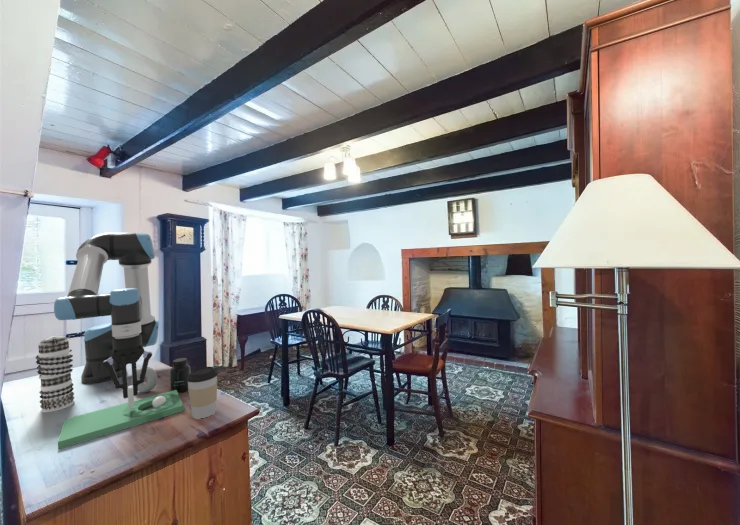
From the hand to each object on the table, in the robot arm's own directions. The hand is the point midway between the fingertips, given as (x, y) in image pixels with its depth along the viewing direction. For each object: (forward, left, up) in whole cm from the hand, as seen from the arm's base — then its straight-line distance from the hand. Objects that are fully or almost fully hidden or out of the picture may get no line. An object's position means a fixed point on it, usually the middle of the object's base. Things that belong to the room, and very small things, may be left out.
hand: (131, 406), depth 101 cm
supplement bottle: (-12, +16, -4) cm, 20 cm away
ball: (0, +8, -1) cm, 8 cm away
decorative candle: (-28, -20, -4) cm, 35 cm away
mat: (0, -1, -3) cm, 4 cm away
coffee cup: (+15, +19, -4) cm, 24 cm away
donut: (-20, +5, -4) cm, 21 cm away
